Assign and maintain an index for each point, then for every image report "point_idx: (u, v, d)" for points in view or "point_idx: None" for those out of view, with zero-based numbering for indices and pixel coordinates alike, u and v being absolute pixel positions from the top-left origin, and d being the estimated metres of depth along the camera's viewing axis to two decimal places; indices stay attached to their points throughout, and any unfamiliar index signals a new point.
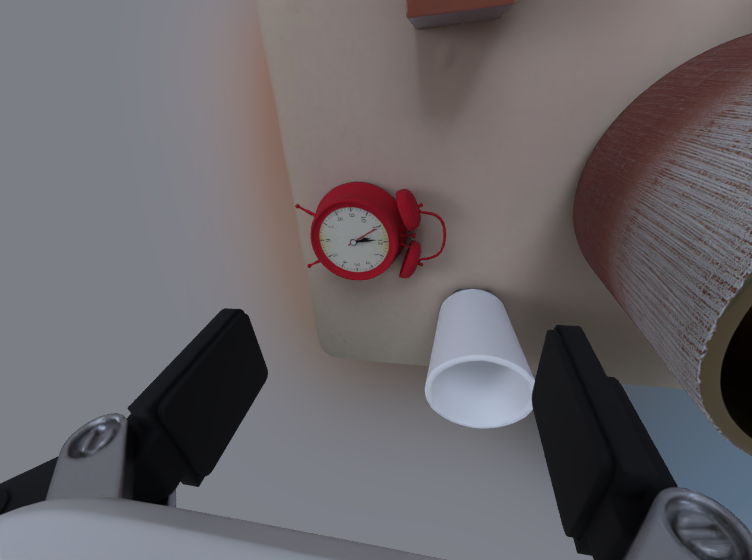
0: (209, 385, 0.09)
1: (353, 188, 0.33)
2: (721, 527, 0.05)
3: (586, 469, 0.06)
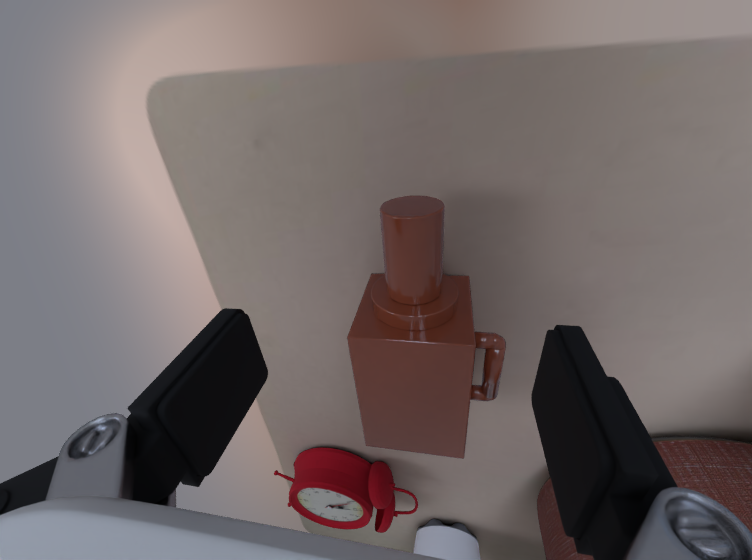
0: (209, 385, 0.09)
1: (328, 459, 0.35)
2: (721, 527, 0.05)
3: (586, 469, 0.06)
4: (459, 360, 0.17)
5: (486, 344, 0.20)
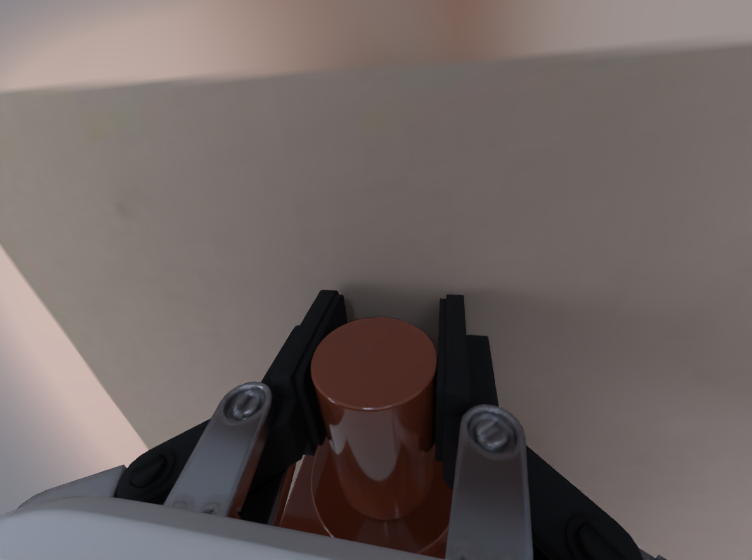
0: None
1: None
2: (500, 422, 0.07)
3: None
4: None
5: None
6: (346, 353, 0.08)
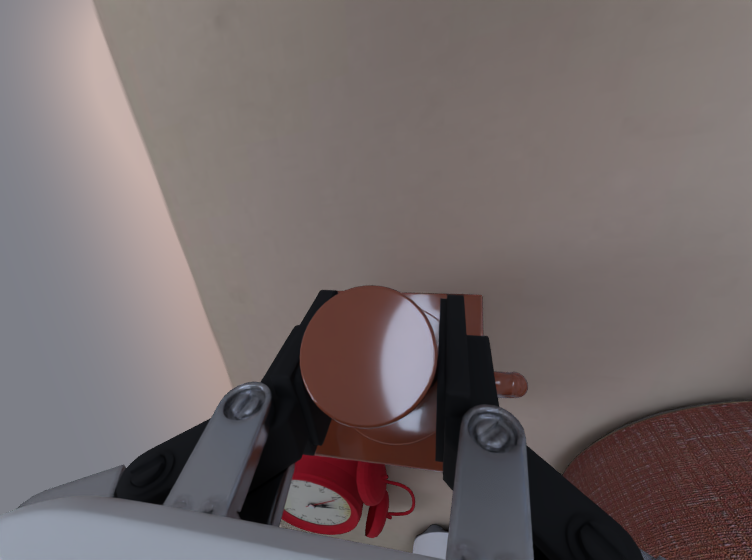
0: None
1: None
2: (500, 422, 0.07)
3: None
4: None
5: (500, 394, 0.14)
6: (336, 350, 0.08)
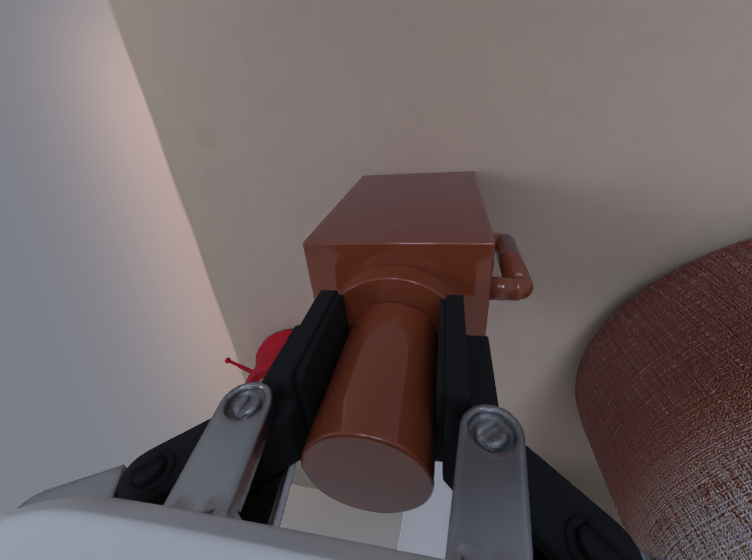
0: (324, 359, 0.09)
1: None
2: (499, 422, 0.07)
3: None
4: None
5: None
6: (336, 474, 0.08)
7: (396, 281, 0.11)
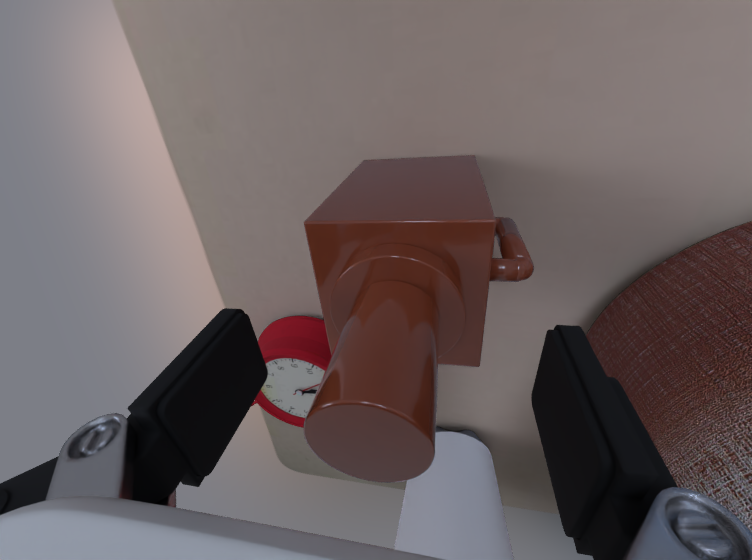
0: (209, 385, 0.09)
1: (297, 327, 0.27)
2: (721, 527, 0.05)
3: (586, 469, 0.06)
4: None
5: None
6: (338, 443, 0.08)
7: (397, 259, 0.11)
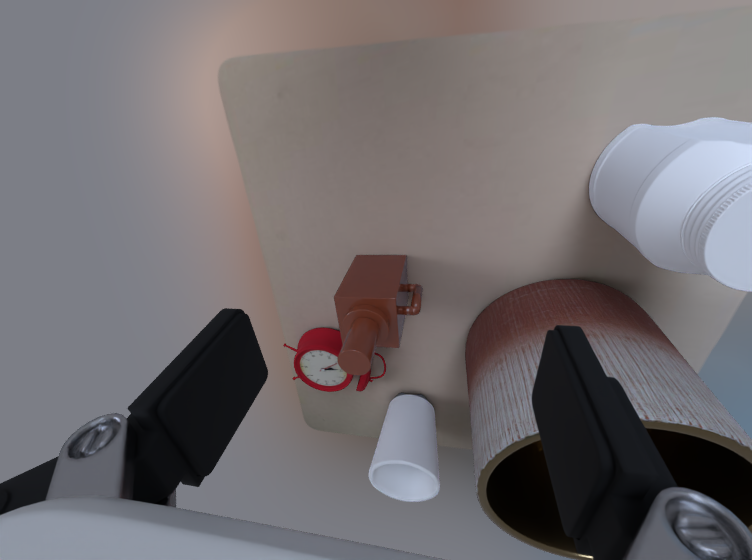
0: (209, 385, 0.09)
1: (322, 333, 0.49)
2: (721, 527, 0.05)
3: (586, 469, 0.06)
4: None
5: (409, 314, 0.37)
6: (346, 363, 0.30)
7: (364, 310, 0.33)
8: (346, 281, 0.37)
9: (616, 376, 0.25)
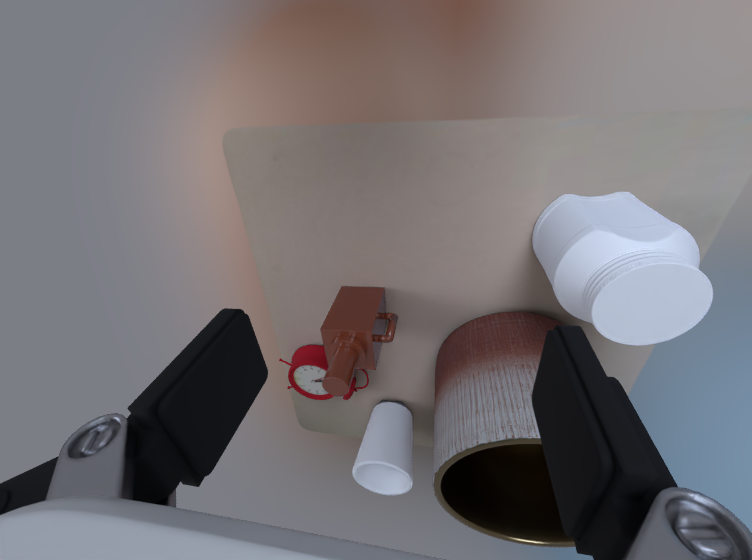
0: (209, 385, 0.09)
1: (313, 350, 0.56)
2: (721, 527, 0.05)
3: (586, 469, 0.06)
4: None
5: (384, 341, 0.44)
6: (329, 386, 0.38)
7: (345, 341, 0.40)
8: (331, 313, 0.44)
9: None
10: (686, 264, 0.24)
